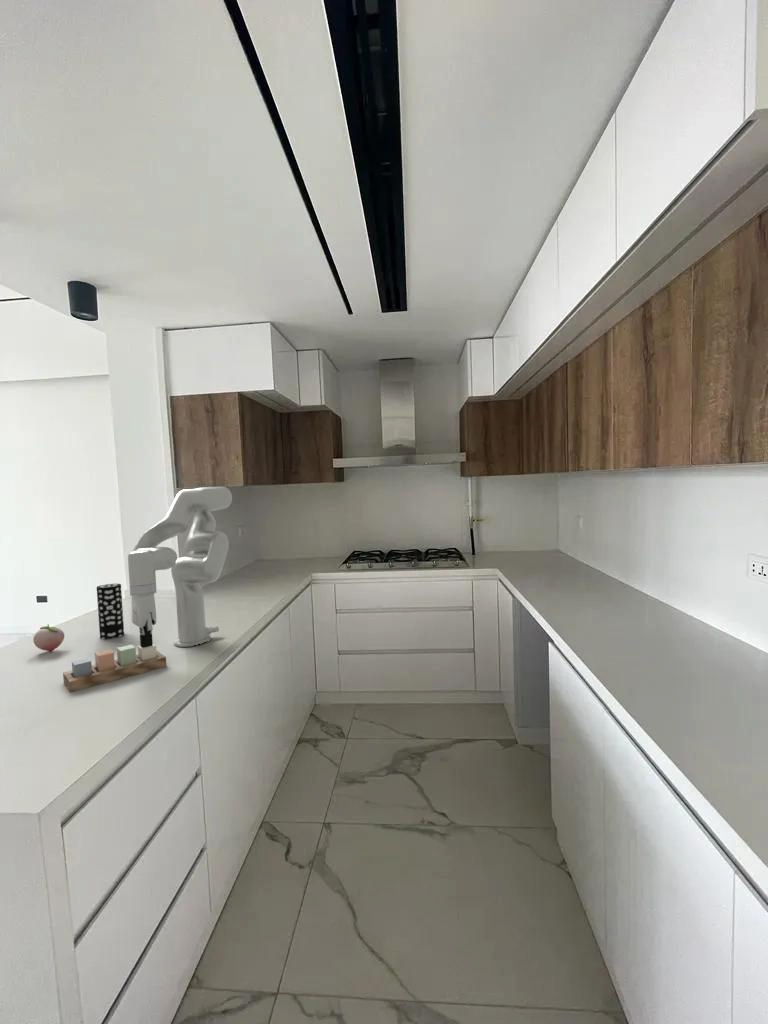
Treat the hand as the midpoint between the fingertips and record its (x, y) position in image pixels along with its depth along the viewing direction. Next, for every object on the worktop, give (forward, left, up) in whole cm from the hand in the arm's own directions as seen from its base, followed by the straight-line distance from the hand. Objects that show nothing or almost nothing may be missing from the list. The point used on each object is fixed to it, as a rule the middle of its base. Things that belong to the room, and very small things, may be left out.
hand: (146, 646), depth 152 cm
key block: (+9, 0, -7) cm, 11 cm away
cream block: (0, 0, -5) cm, 5 cm away
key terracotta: (+12, 0, -4) cm, 12 cm away
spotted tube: (-1, -47, -7) cm, 48 cm away
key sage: (+6, 0, -4) cm, 7 cm away
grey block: (+18, 0, -5) cm, 19 cm away
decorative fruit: (+20, -43, -7) cm, 48 cm away
